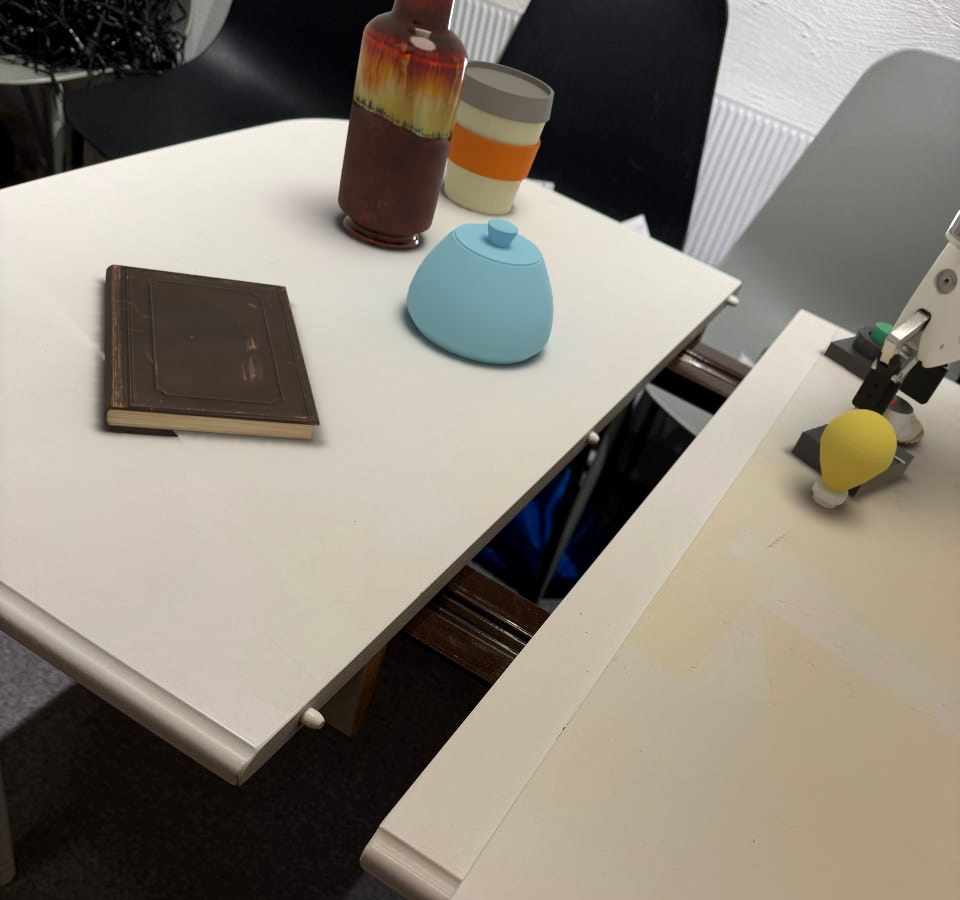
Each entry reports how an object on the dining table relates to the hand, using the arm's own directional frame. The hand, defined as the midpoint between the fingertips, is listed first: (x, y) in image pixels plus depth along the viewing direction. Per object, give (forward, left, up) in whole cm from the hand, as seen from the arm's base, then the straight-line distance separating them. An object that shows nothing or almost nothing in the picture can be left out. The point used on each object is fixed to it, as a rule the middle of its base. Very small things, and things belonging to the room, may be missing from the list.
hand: (889, 404), depth 96 cm
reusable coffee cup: (+1, -62, -8) cm, 62 cm away
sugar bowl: (+26, -33, -8) cm, 42 cm away
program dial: (0, 0, -4) cm, 4 cm away
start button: (-24, -13, -4) cm, 28 cm away
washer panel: (+2, 0, -7) cm, 7 cm away
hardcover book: (+55, -35, -8) cm, 66 cm away
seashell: (-11, -3, -8) cm, 14 cm away
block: (-24, -13, -7) cm, 28 cm away
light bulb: (+11, +3, -8) cm, 13 cm away
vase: (+22, -55, -8) cm, 59 cm away
